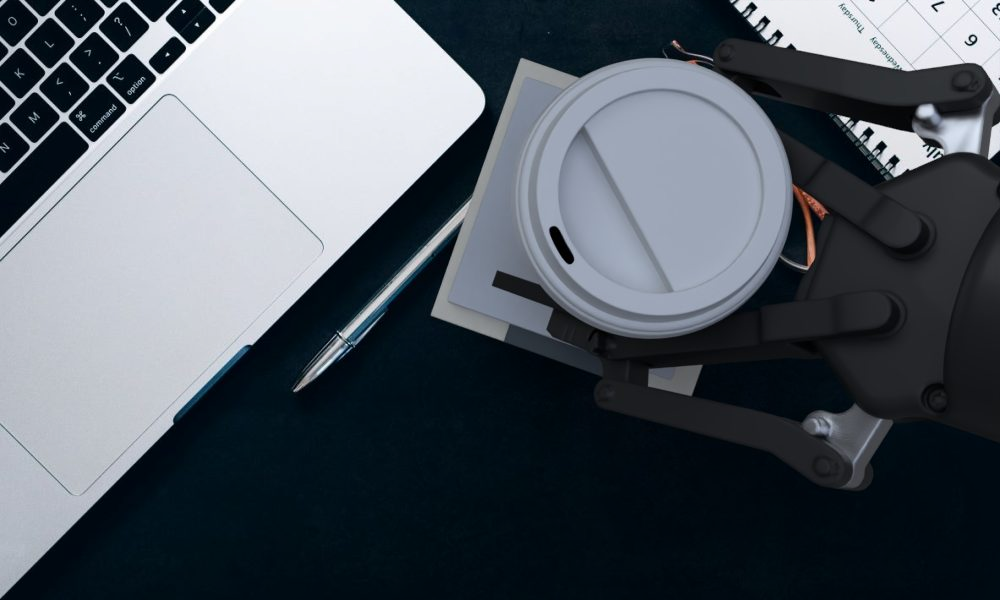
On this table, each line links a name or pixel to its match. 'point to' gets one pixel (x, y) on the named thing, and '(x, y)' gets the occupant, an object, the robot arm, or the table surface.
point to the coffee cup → (651, 198)
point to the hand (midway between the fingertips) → (544, 200)
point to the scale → (516, 246)
